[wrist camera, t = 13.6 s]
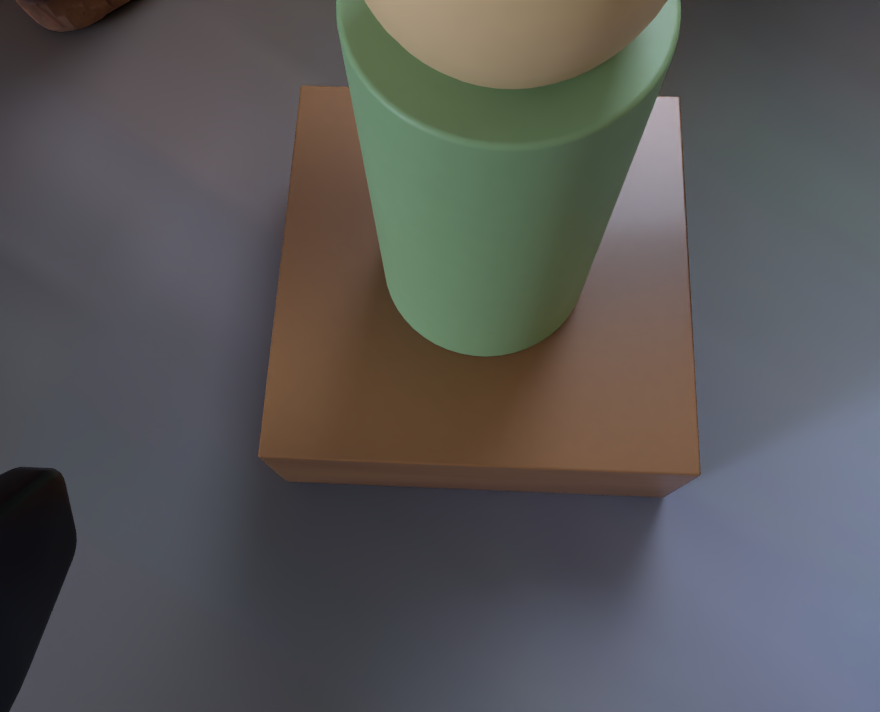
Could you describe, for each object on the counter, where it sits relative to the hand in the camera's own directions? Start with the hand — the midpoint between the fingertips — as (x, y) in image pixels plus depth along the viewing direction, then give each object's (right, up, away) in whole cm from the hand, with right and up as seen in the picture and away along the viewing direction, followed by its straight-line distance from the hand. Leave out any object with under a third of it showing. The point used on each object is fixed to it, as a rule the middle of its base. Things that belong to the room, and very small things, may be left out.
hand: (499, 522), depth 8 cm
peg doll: (0, +4, +10) cm, 10 cm away
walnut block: (0, +3, +13) cm, 13 cm away
